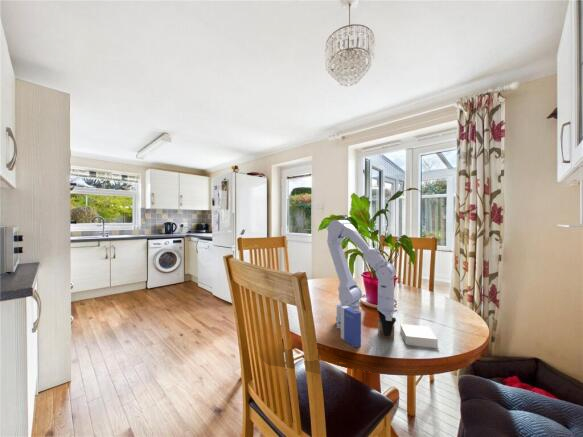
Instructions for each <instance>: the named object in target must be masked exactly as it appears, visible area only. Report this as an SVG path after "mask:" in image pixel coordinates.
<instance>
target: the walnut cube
mask: <svg viewBox="0 0 583 437" xmlns="http://www.w3.org/2000/svg"><path fill="white" fill-rule="evenodd" d="M377 322H378V323H377V326H378V327H377V329H378V331H377V332H378V338H379V339H382V340H390V341H392V340H393V341H394V340H395V324H394V325H393V327H392V331H391V335H390V336H384V333H383V327H382V323H381V320H380V319H378V320H377Z"/></svg>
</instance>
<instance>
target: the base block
mask: <svg viewBox="0 0 583 437" xmlns="http://www.w3.org/2000/svg"><path fill="white" fill-rule="evenodd" d="M399 329H400V330H399V331H400V334H401V337H402V338H403V340H404V343H405V345H406V346H415V347H425V348H432V349H438V348H439V347H438V344H439V342H438V337H437V336H436V335H435V333H434V332H433V330H431V328H430V327H429V326H427V325H426V326H424V325H413V324H403V323H402V324H400V328H399Z"/></svg>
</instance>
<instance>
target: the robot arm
mask: <svg viewBox="0 0 583 437" xmlns="http://www.w3.org/2000/svg"><path fill="white" fill-rule="evenodd" d="M326 229H327V230H326V231H327V239H326V240H327V241H326V243H327V246H328V249H329V250H328V251H329V253H330V255H331V258H332V262H333V265H334V268H335V271H336V275H337V278H338V281H339V285H338V287H337V289H338V300H339V302H337V303H336V316H335V321H336V328H337V329H341V306H349V307H351V308H353V309H355V310H358V311H359V312H361V311H360V300H361V299H362V296H363V293H362V292H363V291H362V290H361V287H359V286H358V284H357V281H355V280H354V279H353V277H352V274H351V270H350V267H349V265H348V261H347V258H346V255H345V252H344V250H343V247H342V244H341V243H342V242H343V240H344V238H345V239H350V240H351V242H352V243H354V245H356V246H357V248H358V249H359V250H360V251H361V252H362V253H363V254H362V255H363V259H364V260H365V261H366V262H367V263H368V265H369V266H370V267H371V268H372V269H373V271H375V276H376V278H377V306H376V307H377V309H376V310H377V313H378V318H379V320H381V323H382V327H383V333H384V336H390V335H391V331H392V327H393V325H394V326H395V323H396V322H397V319H396V317H393V315H394V313H395V312H398V309H399V308H397V307H395V279H394V278H395V276H396V274H397V269H396V267H395V266H394V264H393V263H390V262H389V261H388V260H387V259H386V258H384V257H383V256H382V254H381V251H380V249H376V247H370V246H369V244H368V243H367V242H366V241H365V239H364V238H363V237H362V235H361V234H360V233H359V232H358V231H357V229H356V227H355V226H354V225H353V224H352V223H351V222H350V221H349V220H347V219H340V220H338V219H333V220H332V221H330V222H329V224H328V226H327V227H326Z"/></svg>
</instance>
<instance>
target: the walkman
mask: <svg viewBox="0 0 583 437" xmlns="http://www.w3.org/2000/svg"><path fill="white" fill-rule="evenodd" d="M361 314H362V312H361V311H360V312H359V311H358V310H355V309H353V308H351V307H349V306H341V328H340V338H341V339H342V340H343V341H345V342H347V344H348V345H350V346H352V347H353V348H358V347H361V346H362V315H361Z"/></svg>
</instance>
